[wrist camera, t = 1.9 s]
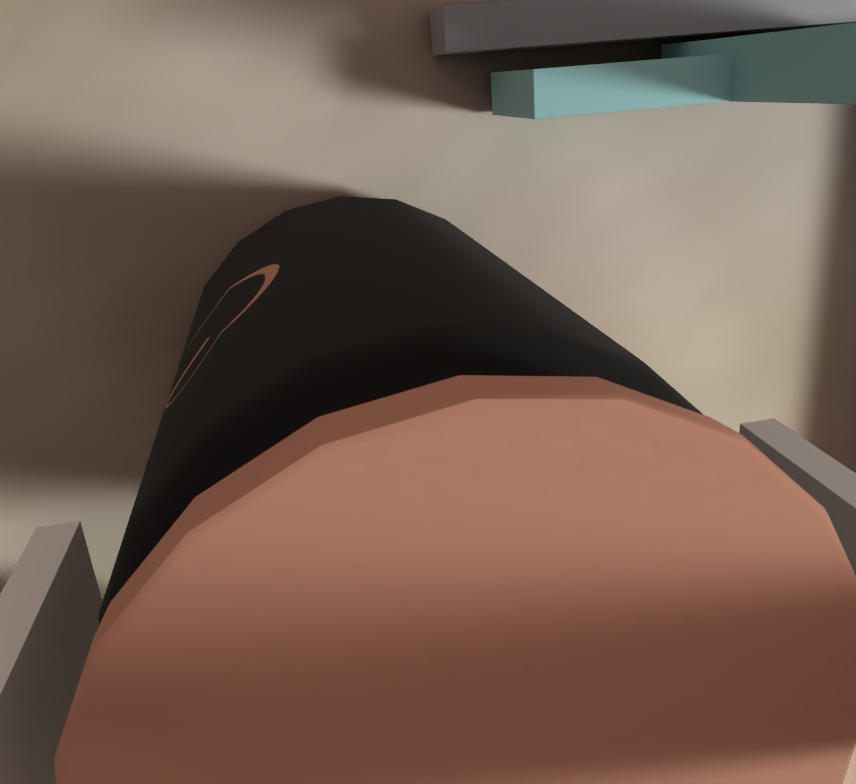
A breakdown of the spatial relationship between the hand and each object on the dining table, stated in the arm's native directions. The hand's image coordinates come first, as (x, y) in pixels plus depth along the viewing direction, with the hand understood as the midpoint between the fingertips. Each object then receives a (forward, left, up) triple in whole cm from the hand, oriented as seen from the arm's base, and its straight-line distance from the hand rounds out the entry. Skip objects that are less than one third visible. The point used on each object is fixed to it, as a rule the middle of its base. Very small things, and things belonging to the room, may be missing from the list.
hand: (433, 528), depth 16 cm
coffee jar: (0, 0, -12) cm, 12 cm away
